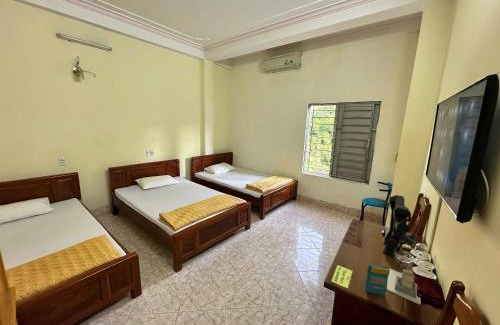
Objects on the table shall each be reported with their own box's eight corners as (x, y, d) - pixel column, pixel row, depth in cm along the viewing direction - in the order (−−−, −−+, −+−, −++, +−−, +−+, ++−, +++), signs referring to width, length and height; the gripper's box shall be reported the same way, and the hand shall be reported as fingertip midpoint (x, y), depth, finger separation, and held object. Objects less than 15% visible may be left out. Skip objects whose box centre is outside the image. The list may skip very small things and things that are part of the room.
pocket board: (389, 269, 128) (389, 264, 128) (420, 281, 119) (421, 276, 119) (385, 289, 113) (386, 284, 112) (420, 304, 104) (421, 299, 103)
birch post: (399, 284, 116) (403, 269, 114) (408, 286, 114) (411, 271, 112) (402, 290, 112) (405, 274, 110) (410, 292, 111) (414, 276, 109)
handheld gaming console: (383, 291, 112) (388, 266, 108) (386, 297, 108) (391, 272, 105) (363, 287, 114) (368, 263, 111) (365, 293, 110) (370, 268, 107)
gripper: (410, 236, 112) (405, 264, 112) (420, 231, 123) (416, 257, 124) (387, 228, 121) (382, 254, 121) (398, 225, 132) (394, 249, 133)
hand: (394, 254), depth 124 cm, fingers open, 9 cm apart
